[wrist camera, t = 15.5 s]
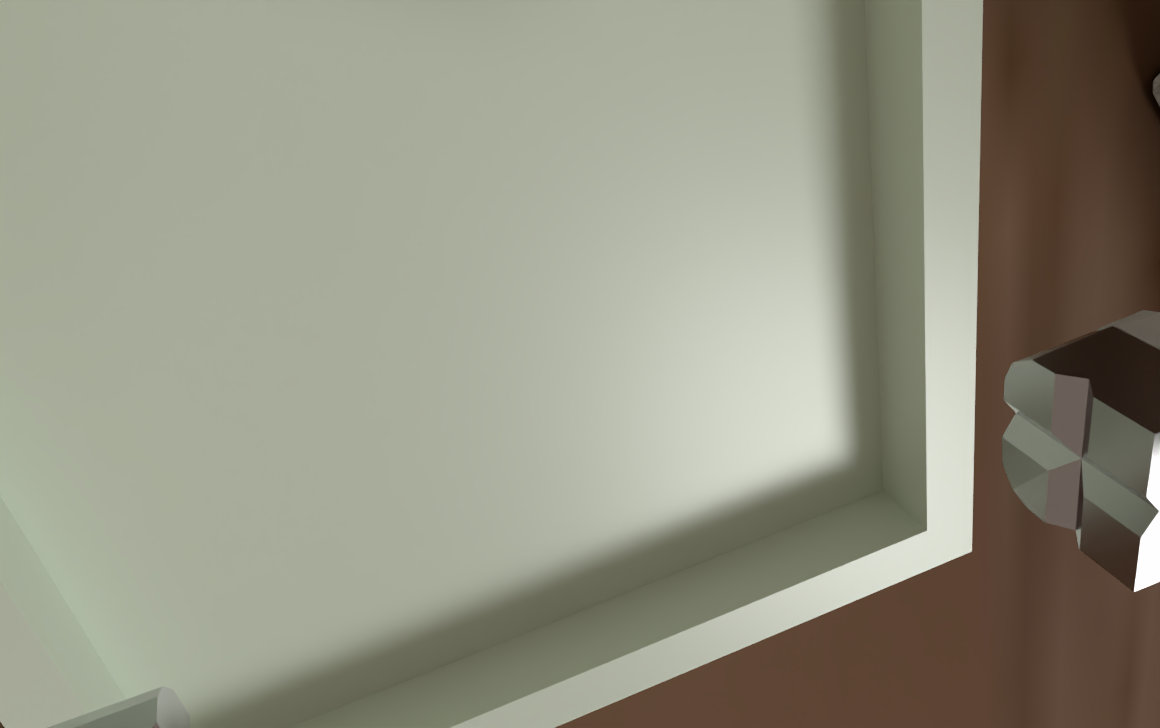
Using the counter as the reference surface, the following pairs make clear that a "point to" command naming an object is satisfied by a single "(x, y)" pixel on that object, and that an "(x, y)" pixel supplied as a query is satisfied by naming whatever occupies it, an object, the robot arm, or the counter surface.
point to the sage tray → (470, 344)
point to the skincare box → (1157, 89)
